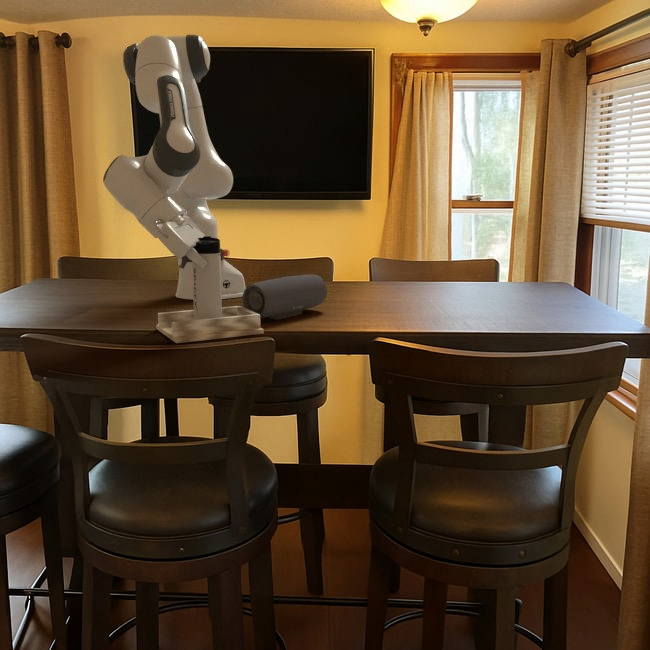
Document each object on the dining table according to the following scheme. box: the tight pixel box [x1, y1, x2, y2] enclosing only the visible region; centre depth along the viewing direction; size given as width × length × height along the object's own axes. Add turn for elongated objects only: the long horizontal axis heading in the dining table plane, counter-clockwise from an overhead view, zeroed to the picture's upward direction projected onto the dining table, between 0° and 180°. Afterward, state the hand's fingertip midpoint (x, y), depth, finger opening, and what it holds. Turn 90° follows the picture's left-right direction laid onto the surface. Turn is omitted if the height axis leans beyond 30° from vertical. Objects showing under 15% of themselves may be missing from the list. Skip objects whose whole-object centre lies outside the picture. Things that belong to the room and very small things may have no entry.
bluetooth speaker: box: [241, 274, 328, 320], centre depth 173 cm, size 23×9×10 cm, turn 141°
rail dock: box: [155, 305, 265, 344], centre depth 156 cm, size 20×16×4 cm
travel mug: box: [192, 236, 223, 320], centre depth 154 cm, size 6×7×20 cm
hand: (209, 263), depth 153 cm, fingers closed on travel mug, 6 cm apart
